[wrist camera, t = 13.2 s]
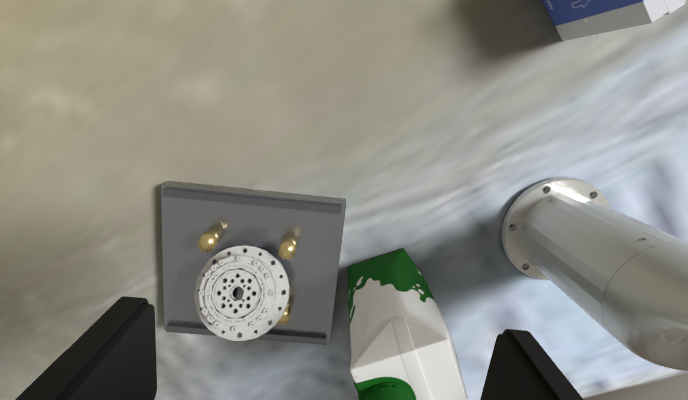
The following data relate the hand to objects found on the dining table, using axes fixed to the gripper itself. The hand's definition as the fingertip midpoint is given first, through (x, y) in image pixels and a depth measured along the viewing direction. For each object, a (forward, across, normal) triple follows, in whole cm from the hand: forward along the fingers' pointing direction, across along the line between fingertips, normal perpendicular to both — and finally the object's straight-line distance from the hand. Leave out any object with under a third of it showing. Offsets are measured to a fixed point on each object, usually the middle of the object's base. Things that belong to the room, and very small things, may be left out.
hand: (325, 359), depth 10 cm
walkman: (+34, -21, -18) cm, 43 cm away
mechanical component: (+29, +8, +16) cm, 34 cm away
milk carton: (+34, -8, +15) cm, 38 cm away
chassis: (+33, +8, +14) cm, 37 cm away
